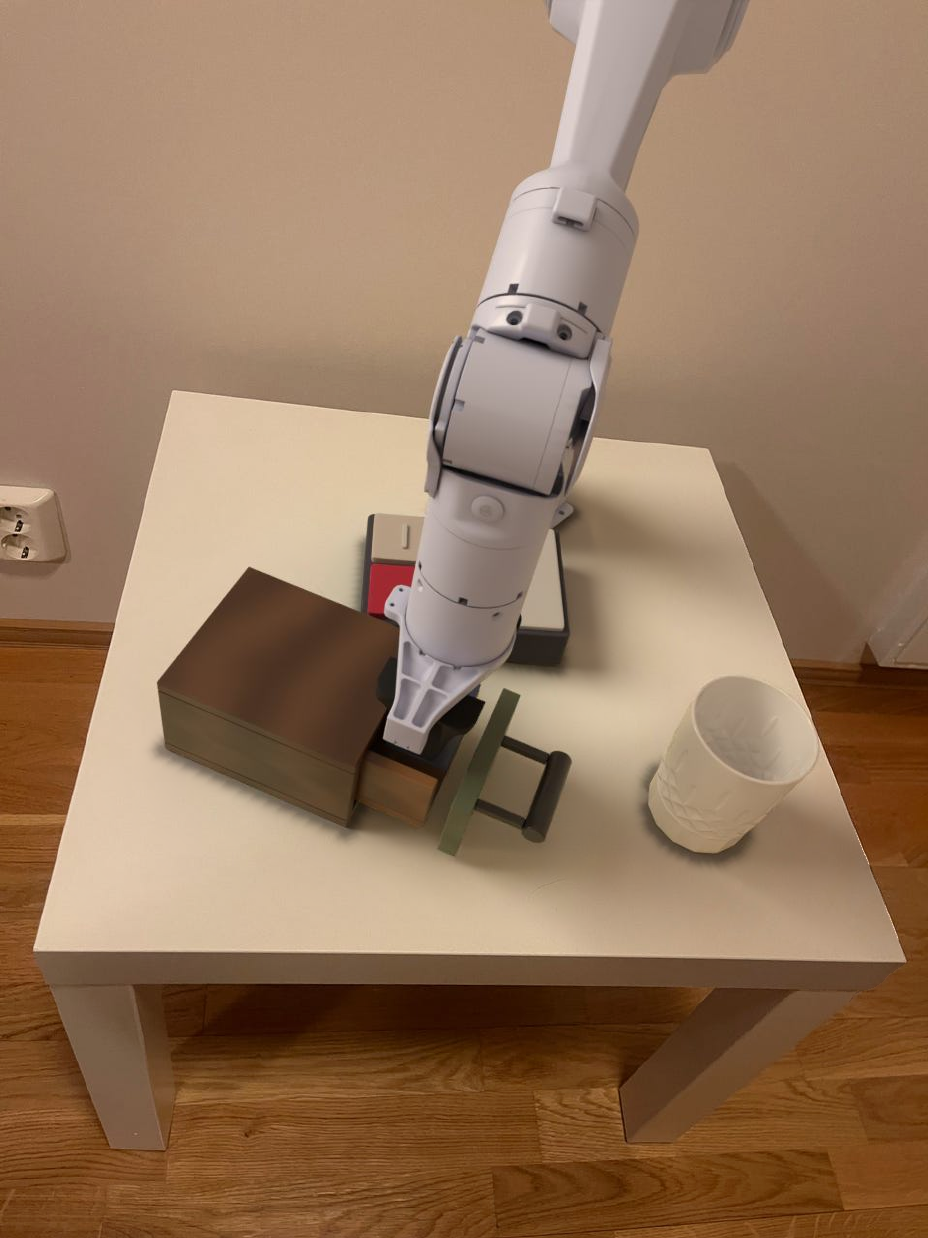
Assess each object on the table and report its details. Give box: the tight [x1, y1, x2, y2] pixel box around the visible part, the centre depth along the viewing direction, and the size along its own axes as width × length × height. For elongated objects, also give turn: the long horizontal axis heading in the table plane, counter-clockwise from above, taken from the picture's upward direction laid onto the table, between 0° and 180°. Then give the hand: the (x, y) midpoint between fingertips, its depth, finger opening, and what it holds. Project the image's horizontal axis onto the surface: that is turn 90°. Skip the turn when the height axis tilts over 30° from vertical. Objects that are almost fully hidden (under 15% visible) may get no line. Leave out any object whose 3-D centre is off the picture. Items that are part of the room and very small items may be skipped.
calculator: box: [359, 512, 571, 666], centre depth 68 cm, size 11×4×15 cm
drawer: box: [354, 687, 573, 858], centre depth 57 cm, size 16×9×5 cm, turn 69°
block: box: [385, 683, 482, 771], centre depth 54 cm, size 4×4×4 cm
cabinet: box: [156, 566, 400, 828], centre depth 58 cm, size 13×11×7 cm
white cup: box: [647, 673, 820, 854], centre depth 58 cm, size 8×8×10 cm
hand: (433, 721), depth 54 cm, fingers closed on block, 4 cm apart
